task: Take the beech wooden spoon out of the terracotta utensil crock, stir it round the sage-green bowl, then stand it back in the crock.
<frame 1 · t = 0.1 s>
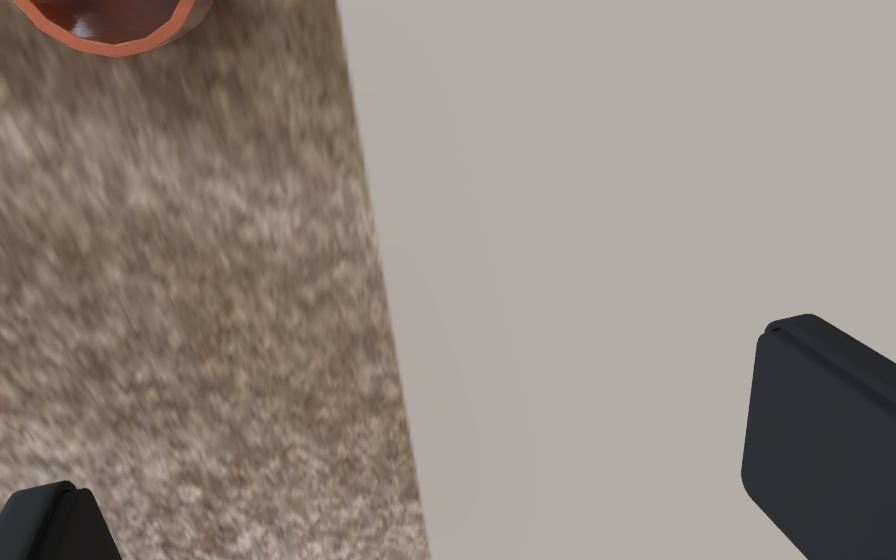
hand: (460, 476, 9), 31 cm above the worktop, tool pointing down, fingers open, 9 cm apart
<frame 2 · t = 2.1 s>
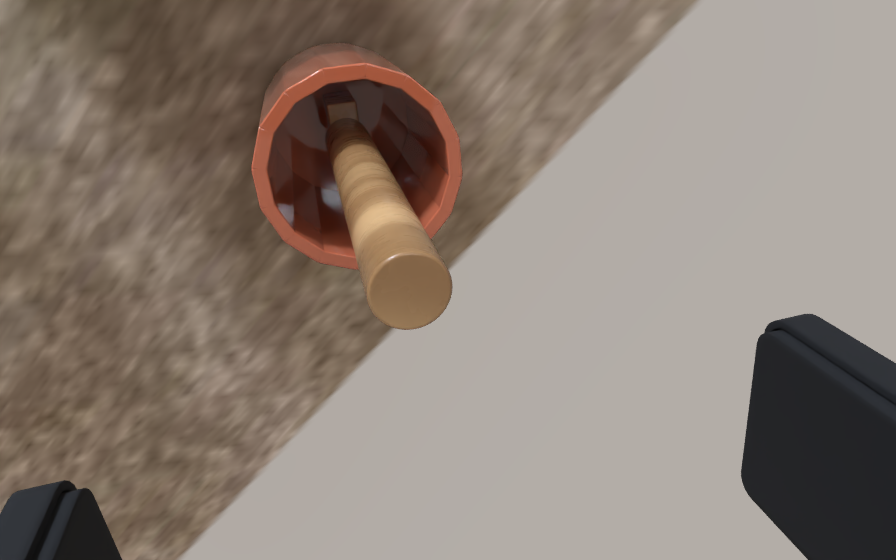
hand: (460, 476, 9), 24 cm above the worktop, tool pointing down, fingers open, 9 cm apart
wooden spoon: (341, 125, 29), point 1 cm above the worktop, touching crock
crock: (340, 123, 30), on the worktop
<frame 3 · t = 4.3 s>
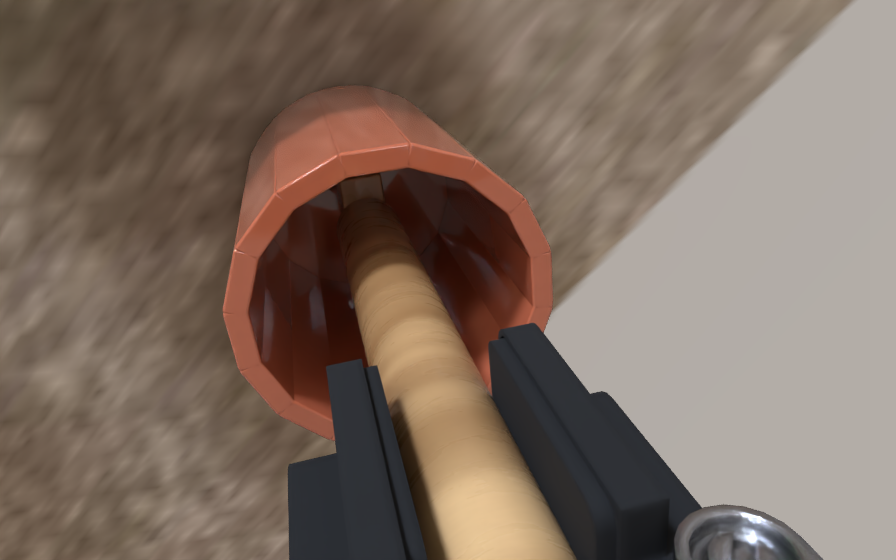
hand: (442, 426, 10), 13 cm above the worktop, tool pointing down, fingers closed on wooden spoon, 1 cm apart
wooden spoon: (357, 197, 21), point 1 cm above the worktop, touching crock, gripper
crock: (354, 192, 22), on the worktop
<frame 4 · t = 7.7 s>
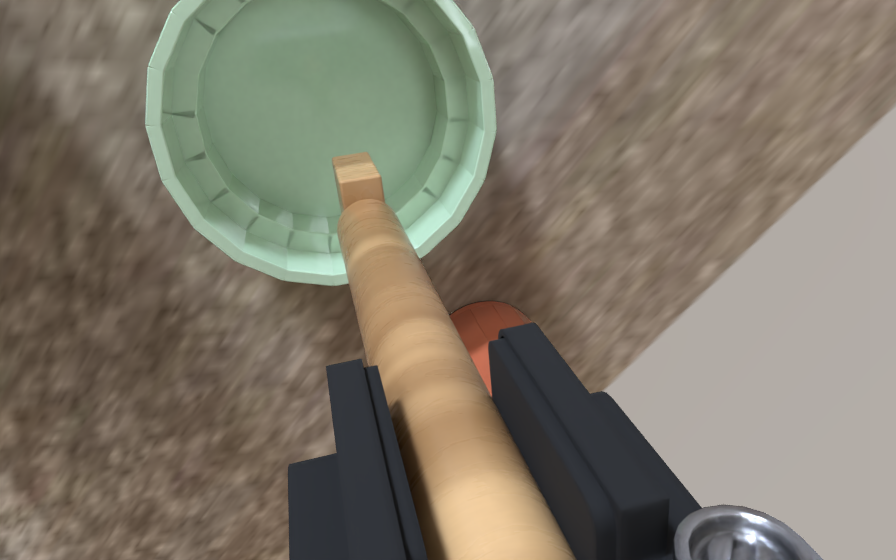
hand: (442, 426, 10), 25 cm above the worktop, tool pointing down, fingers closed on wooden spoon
bowl: (323, 105, 32), on the worktop
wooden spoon: (357, 198, 21), point 13 cm above the worktop, touching gripper
crock: (482, 351, 40), on the worktop
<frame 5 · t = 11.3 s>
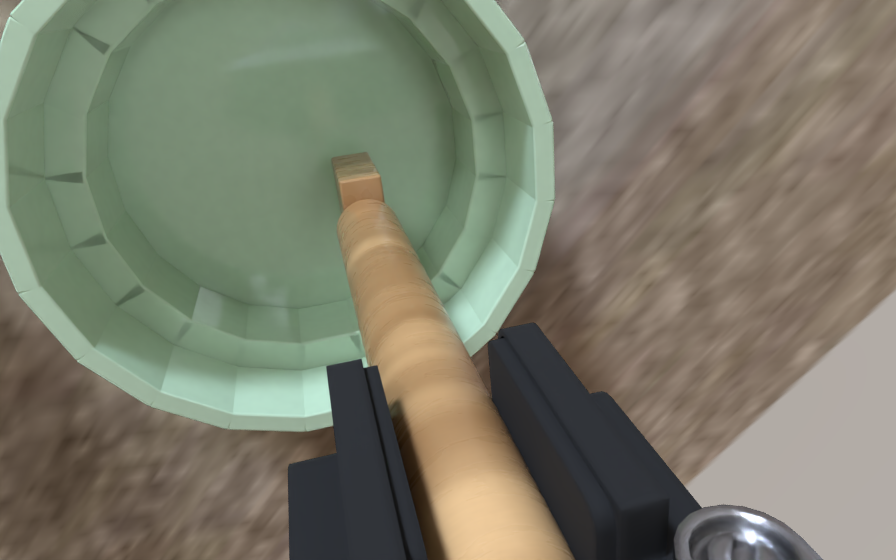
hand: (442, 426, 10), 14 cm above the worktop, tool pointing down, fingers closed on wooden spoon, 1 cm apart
bowl: (292, 152, 22), on the worktop
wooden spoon: (356, 198, 21), point 2 cm above the worktop, touching gripper
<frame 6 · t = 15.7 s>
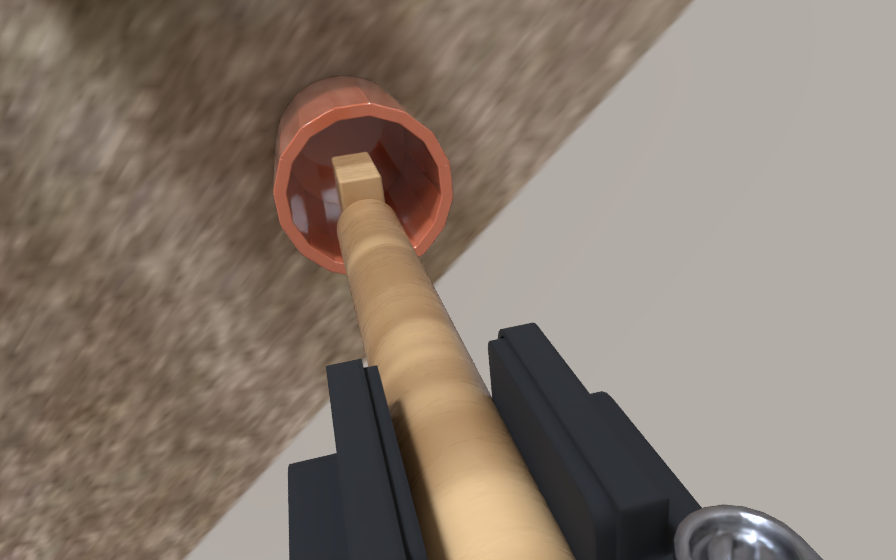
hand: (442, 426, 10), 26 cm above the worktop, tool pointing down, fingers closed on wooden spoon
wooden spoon: (357, 198, 21), point 13 cm above the worktop, touching gripper
crock: (346, 145, 33), on the worktop
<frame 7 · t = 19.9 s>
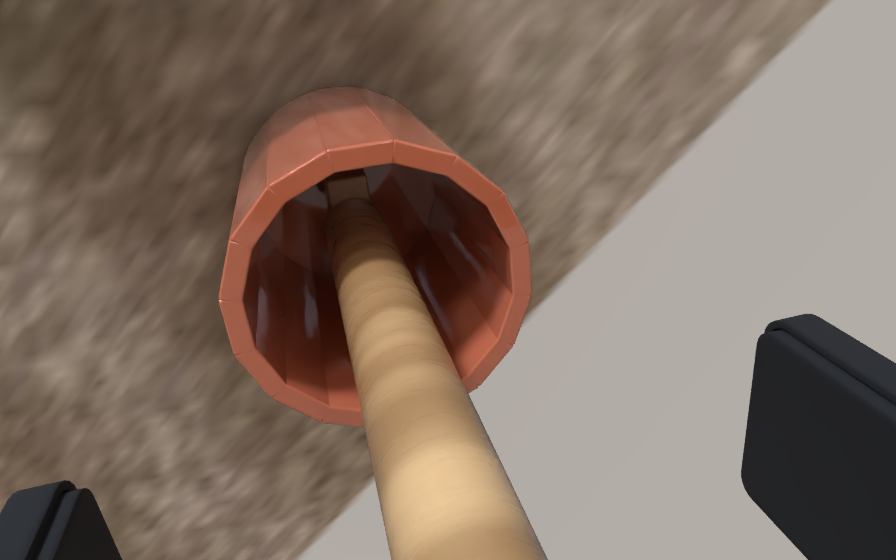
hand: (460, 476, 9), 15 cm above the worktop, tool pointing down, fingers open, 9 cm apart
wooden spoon: (345, 198, 22), point 1 cm above the worktop, touching crock
crock: (346, 190, 23), on the worktop
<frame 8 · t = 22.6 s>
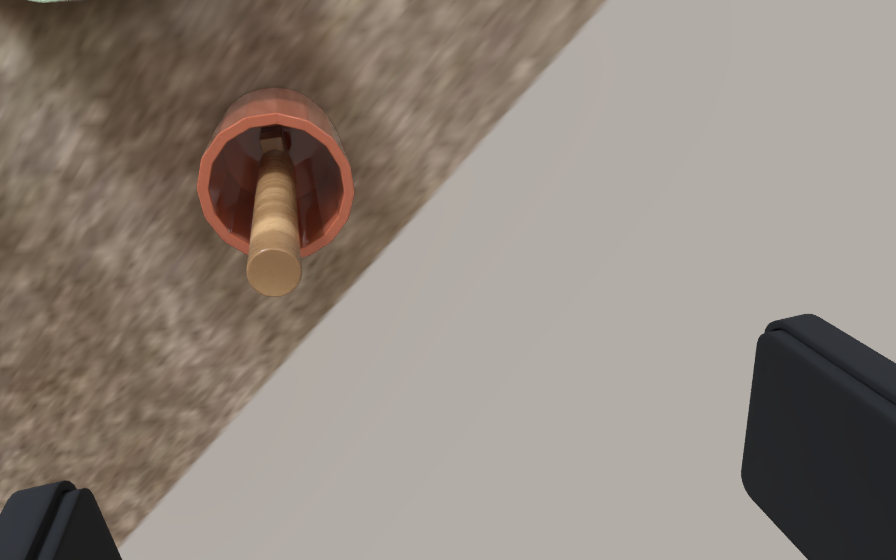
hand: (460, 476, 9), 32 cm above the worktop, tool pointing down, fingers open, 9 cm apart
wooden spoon: (276, 153, 38), point 1 cm above the worktop, touching crock
crock: (278, 148, 38), on the worktop
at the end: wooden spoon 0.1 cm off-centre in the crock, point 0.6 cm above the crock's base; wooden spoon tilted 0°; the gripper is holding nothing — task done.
